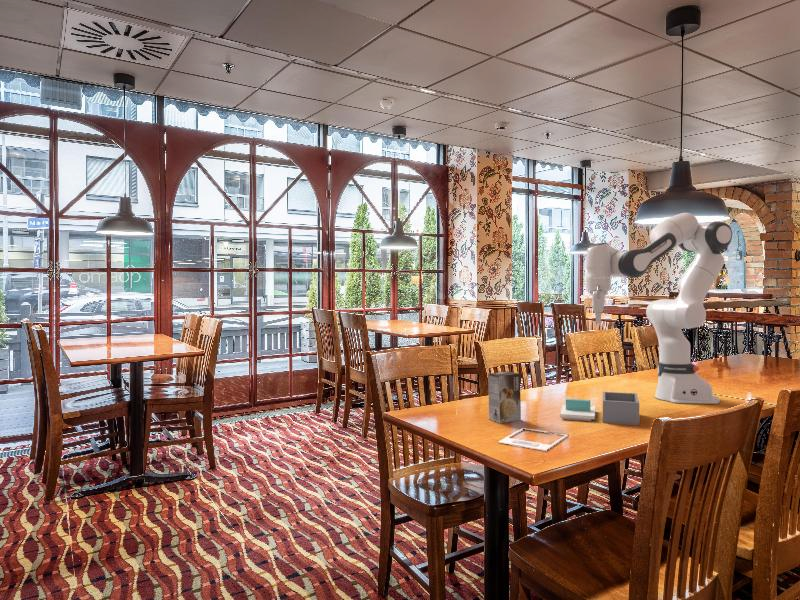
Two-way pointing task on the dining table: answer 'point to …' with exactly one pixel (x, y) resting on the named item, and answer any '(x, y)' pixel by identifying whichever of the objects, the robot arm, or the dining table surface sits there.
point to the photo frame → (530, 444)
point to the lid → (578, 410)
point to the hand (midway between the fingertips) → (598, 322)
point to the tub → (620, 408)
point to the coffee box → (504, 396)
